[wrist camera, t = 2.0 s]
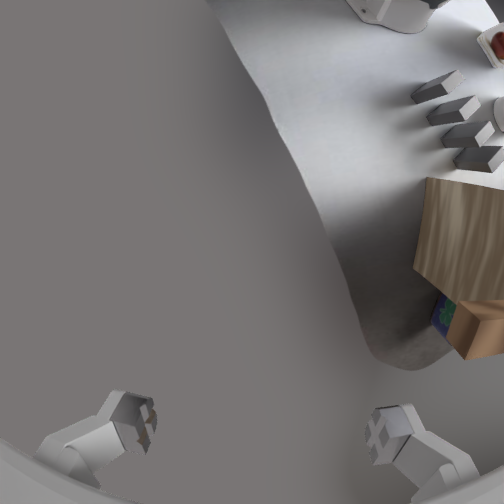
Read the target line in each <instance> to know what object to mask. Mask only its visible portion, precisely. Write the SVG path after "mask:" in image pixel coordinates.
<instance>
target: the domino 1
mask: <svg viewBox="0 0 504 504" xmlns="http://www.w3.org/2000/svg"><path fill="white" fill-rule="evenodd" d="M464 80H465V79H464V77H463V76H462V74H461V73H460V71H459V70H458V69H457V70H455V71H453V72H450V73H448V74H445V75H443V76H441V77H438V78H436V79H434V80H432V81H429V82H427V83H426V84H425V85H423V86H422V87H421V88H419V89H418V90H417V91H416V92H414V93H413V94H412V95H411V97H412V98H413V100H414V101H415V102H416V104H419V103H422V102H425V101H428V100H431V99H434V98H437V97H440V96H444V95H447V94H449V93H450V92H451V91H452V90H454V89H455V88H456V87H457V86H458V85H459V84H461V83H462V82H463V81H464Z"/></svg>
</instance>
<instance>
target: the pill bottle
mask: <svg viewBox="0 0 504 504" xmlns="http://www.w3.org/2000/svg"><path fill="white" fill-rule="evenodd" d="M494 116H495V120H496V123H497V125H498V126H499V128H500V129H501V131H502V132H504V97H500V98H498V99H497V100H496V101H495V103H494Z"/></svg>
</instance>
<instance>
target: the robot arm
mask: <svg viewBox="0 0 504 504" xmlns="http://www.w3.org/2000/svg"><path fill="white" fill-rule="evenodd" d="M346 1H347V3H348V4H349V5H350V6H351V7H352V9H353V10H354V11H355V12H356V13H357V15H358V16H359V17H360V18H361V20H363V21H364V22H366V23H370V24H380V25H383V26H385V27H388V28H390V29H392V30H395V31H398V32H402V33H418V32H420V31H422V30H423V29H424V28H425V27H426V26H427V23H428V21H429V19H430V17H431V15H432V14H433V12H434V11H435V10H436V9H437V8H440V7H442V6H443V5H445V4H446V3H448V2H449V1H450V0H346ZM362 11H364V12H365V13H364V12H362ZM153 406H154V402H153V399H152V398H151V397H147V396H142V395H138V394H134V393H130V392H126V391H122V390H118V389H114V390H113V391H112V392H111V393H110V395H109V396H108V398H107V400H106V401H105V403H104V404H103V406H102V408H101V409H100V411H99V412H98V414H97V416H94V415H92V416H90V417H88V418H86V419H84V420H82V421H80V422H78V423H75V424H73V425H71V426H69V427H66V428H64V429H62V430H60V431H58V432H55V433H53V434H51V435H48V436H47V437H46V438H45V440H44V441H43V443H42V444H41V445H40V447H39V449H38V450H37V452H36V453H35V454H34V456H33V457H30V456H29V455H27V454H25V453H24V452H22V451H20V450H18V449H17V448H15V447H14V446H12V445H11V444H9V443H8V442H6V441H5V440H3V439H2V438H0V504H142V503H138V502H135V501H132V500H128V499H125V498H122V497H119V496H116V495H113V494H110V493H108V492H105V491H102V490H100V487H101V485H100V483H99V481H98V480H97V479H96V477H95V476H94V475H93V473H95V472H96V471H98V470H99V469H101V468H102V467H104V466H105V465H106V464H108V463H109V462H111V461H112V460H114V459H115V458H116V457H118V456H119V455H120V454H122V453H123V452H125V450H126V451H130V452H134V453H138V454H143V455H146V453H147V451H148V448H149V446H150V443H151V442H150V439H149V437H150V436H152V435H153V434H154V433H155V430H156V425H157V414H156V412H155V411H154V410H153V409H152V408H153ZM372 418H373V419H372V420H370V421H369V422H368V423H367V426H366V428H365V440H366V443H367V445H368V446H370V447H371V450H370V452H369V454H370V458H371V461H372V465H379V464H386V463H392V462H393V465H395V466H396V467H397V468H398V469H399V470H400V471H401V472H402V473H403V474H404V475H406V476H407V477H408V478H409V479H410V480H411V481H412V482H413V483H414V484H415V485H416V486H418V487H419V488H420V490H419V491H418V492H417V493H416V494H415V495H414V496H413V497H412V498H411V501H412V503H410V504H504V465H503V466H501V467H499V468H497V469H495V470H493V471H491V472H489V473H487V474H485V475H483V476H481V477H480V475H479V473H478V471H477V469H476V467H475V465H474V463H473V461H472V459H471V457H470V456H469V455H468V454H467V453H465V452H463V451H461V450H460V449H458V448H456V447H455V446H453V445H451V444H450V443H448V442H446V441H445V440H443V439H441V438H440V437H438V436H437V435H435V434H433V433H431V432H430V431H426V430H425V428H424V427H423V424H422V422H421V421H420V418H419V416H418V415H417V413H416V411H415V409H414V407H413V405H412V404H410V403H409V404H403V405H395V406H388V407H380V408H375V409H374V410H373V413H372Z"/></svg>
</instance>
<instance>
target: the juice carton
mask: <svg viewBox="0 0 504 504" xmlns="http://www.w3.org/2000/svg"><path fill="white" fill-rule="evenodd" d="M477 42H478V43H479V45H480V46H481V48H482V49H483V51H484V52H485V54H486V56H487V57H488V59H489V61H490V63H491V64H492V66H493V68H504V22H503V23H501V24H498V25H496V26H494V27H492V28H490V29H488V30H486V31H484V32H483V33H481V35H480V36H479V37H478V38H477Z"/></svg>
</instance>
